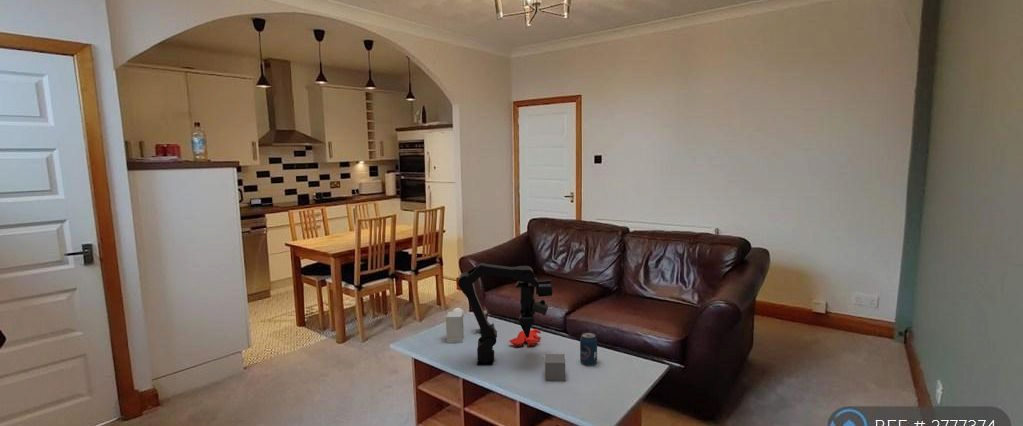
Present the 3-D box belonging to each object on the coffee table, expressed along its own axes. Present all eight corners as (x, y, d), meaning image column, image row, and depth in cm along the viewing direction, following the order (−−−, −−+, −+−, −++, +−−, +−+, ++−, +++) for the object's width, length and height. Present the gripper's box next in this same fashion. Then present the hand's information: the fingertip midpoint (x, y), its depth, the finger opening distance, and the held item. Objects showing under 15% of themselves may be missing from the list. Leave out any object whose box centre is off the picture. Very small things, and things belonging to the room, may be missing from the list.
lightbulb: (459, 332, 235) (458, 310, 233) (449, 330, 238) (448, 308, 237) (467, 328, 240) (466, 307, 239) (457, 326, 244) (456, 305, 242)
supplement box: (462, 342, 223) (461, 316, 221) (446, 343, 223) (445, 317, 221) (464, 336, 230) (463, 311, 228) (448, 336, 230) (447, 311, 228)
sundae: (488, 335, 231) (487, 305, 229) (474, 334, 232) (473, 304, 230) (491, 330, 237) (490, 300, 235) (478, 329, 238) (477, 300, 236)
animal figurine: (505, 346, 219) (505, 335, 218) (528, 336, 229) (527, 325, 229) (523, 353, 211) (523, 342, 210) (546, 342, 221) (546, 331, 220)
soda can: (576, 363, 199) (576, 335, 198) (586, 357, 204) (586, 330, 203) (591, 368, 195) (590, 339, 193) (600, 362, 200) (600, 334, 198)
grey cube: (545, 380, 185) (545, 362, 184) (545, 371, 193) (544, 354, 192) (565, 380, 185) (565, 362, 184) (564, 371, 192) (564, 354, 191)
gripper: (546, 304, 190) (547, 342, 192) (546, 290, 208) (547, 324, 210) (518, 304, 190) (519, 341, 193) (520, 290, 209) (521, 324, 211)
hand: (527, 332), depth 202 cm, fingers open, 9 cm apart
